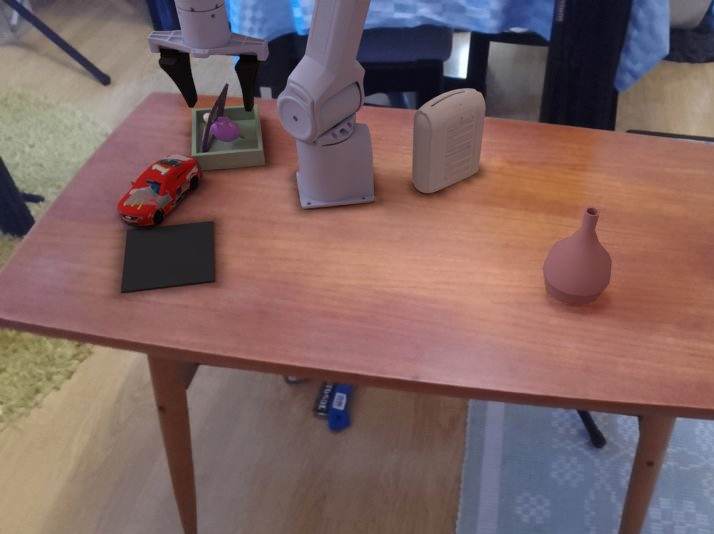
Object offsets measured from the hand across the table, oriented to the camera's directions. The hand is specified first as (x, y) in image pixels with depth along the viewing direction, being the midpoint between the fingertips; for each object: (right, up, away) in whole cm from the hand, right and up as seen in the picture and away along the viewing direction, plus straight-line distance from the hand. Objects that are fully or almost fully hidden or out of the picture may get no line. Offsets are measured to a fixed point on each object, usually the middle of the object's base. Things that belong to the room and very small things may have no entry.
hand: (221, 106), depth 92 cm
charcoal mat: (-2, -22, -12) cm, 25 cm away
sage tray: (0, -4, +4) cm, 6 cm away
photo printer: (+30, -10, +2) cm, 32 cm away
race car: (-6, -14, -5) cm, 16 cm away
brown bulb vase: (+45, -26, -12) cm, 54 cm away
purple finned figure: (-1, -4, +4) cm, 6 cm away
